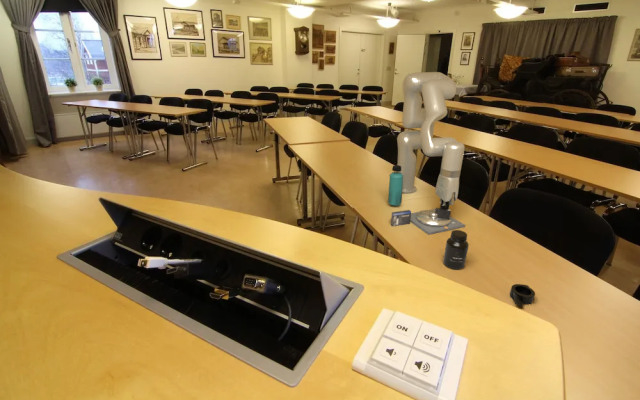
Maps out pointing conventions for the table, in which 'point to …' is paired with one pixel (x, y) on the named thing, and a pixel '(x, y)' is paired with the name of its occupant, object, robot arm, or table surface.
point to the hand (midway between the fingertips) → (443, 212)
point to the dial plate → (432, 230)
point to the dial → (434, 217)
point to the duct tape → (522, 294)
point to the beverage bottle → (395, 186)
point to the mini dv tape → (400, 218)
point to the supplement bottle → (456, 250)
